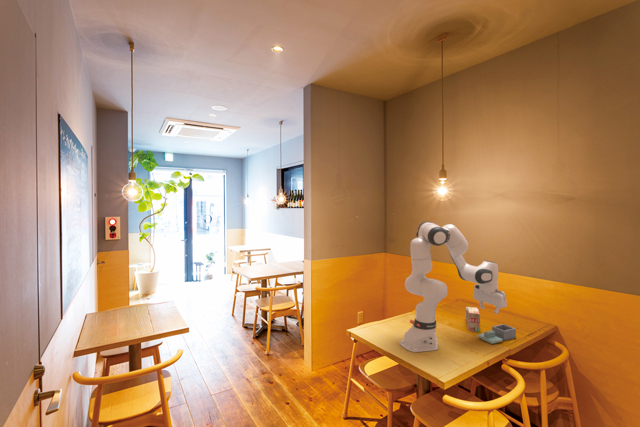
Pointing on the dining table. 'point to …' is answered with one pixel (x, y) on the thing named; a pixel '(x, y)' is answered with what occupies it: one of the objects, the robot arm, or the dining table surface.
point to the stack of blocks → (473, 319)
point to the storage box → (504, 332)
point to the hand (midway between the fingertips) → (489, 310)
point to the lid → (490, 337)
